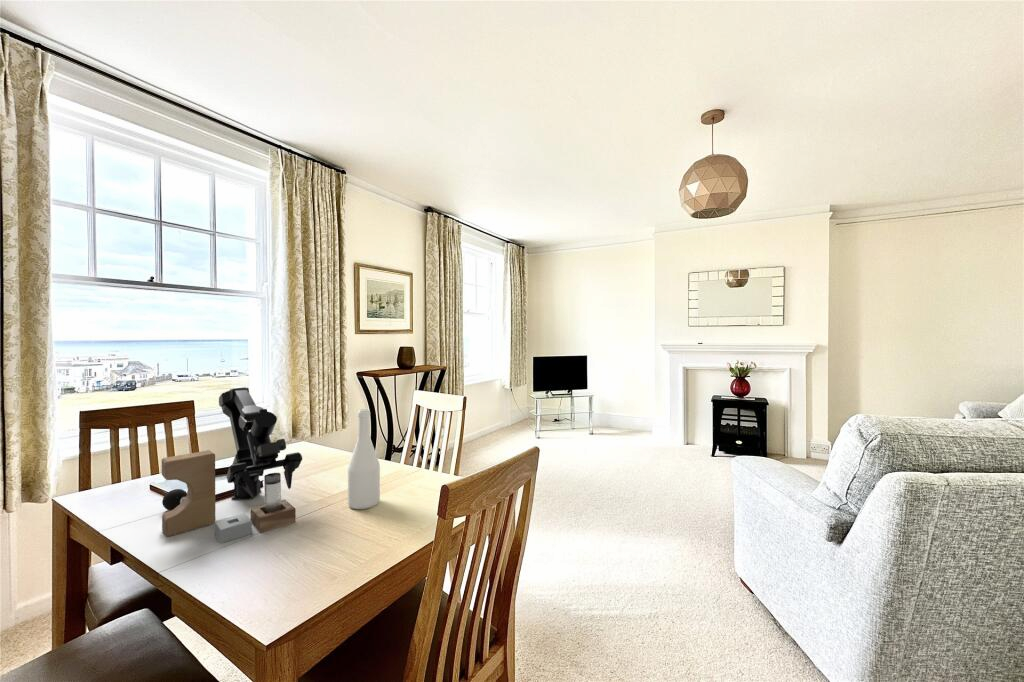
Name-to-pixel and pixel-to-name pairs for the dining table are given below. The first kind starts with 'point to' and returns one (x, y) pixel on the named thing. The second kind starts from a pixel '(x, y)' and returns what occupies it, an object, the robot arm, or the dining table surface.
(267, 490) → the cylinder
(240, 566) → the dining table surface
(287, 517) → the walnut block
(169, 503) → the billiard ball
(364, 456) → the wine bottle
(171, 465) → the decorative block
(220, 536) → the slate block
